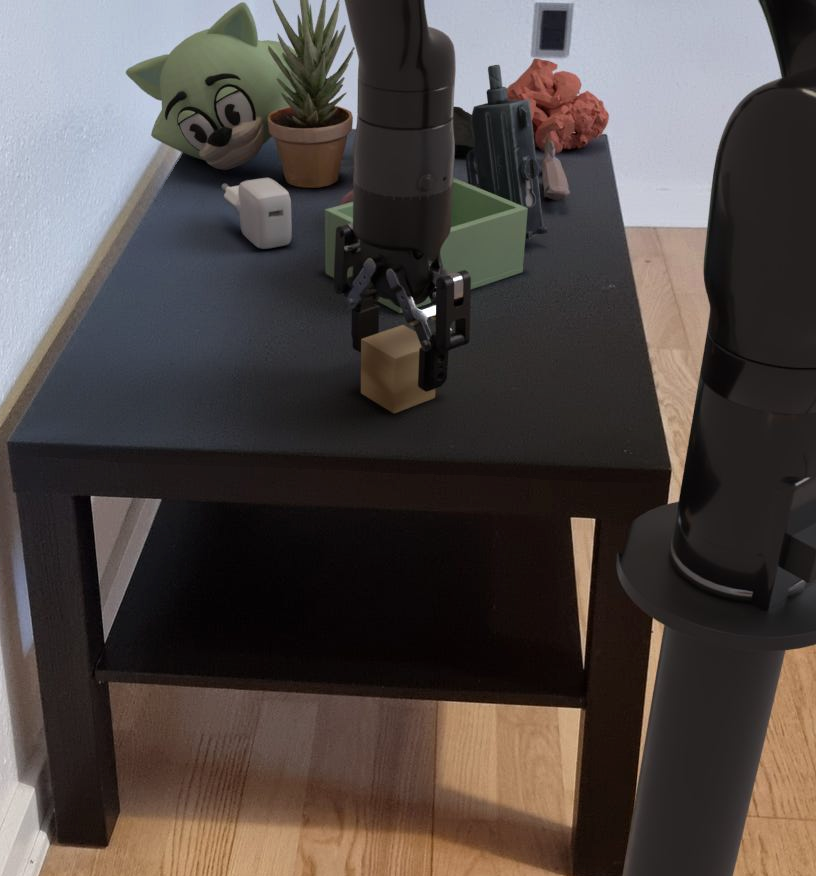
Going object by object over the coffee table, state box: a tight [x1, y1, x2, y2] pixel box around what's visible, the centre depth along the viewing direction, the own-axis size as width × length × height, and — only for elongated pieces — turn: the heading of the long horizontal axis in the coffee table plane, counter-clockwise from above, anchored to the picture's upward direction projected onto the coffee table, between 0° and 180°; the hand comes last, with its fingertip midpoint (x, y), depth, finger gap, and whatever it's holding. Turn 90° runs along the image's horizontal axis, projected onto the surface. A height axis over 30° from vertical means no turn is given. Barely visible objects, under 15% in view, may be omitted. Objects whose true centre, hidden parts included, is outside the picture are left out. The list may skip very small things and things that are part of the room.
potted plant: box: [268, 0, 356, 189], centre depth 147 cm, size 10×10×25 cm
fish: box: [541, 132, 571, 201], centre depth 149 cm, size 3×14×5 cm, turn 179°
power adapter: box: [221, 177, 293, 250], centre depth 139 cm, size 11×5×6 cm, turn 25°
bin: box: [324, 177, 528, 314], centre depth 130 cm, size 12×16×7 cm
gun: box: [465, 64, 549, 240], centre depth 138 cm, size 3×17×15 cm
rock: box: [453, 106, 474, 156], centre depth 161 cm, size 9×7×5 cm
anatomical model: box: [506, 58, 610, 156], centre depth 159 cm, size 10×12×15 cm
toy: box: [125, 1, 298, 171], centre depth 154 cm, size 20×19×15 cm
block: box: [360, 324, 436, 414], centre depth 109 cm, size 4×4×5 cm
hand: (397, 367), depth 109 cm, fingers open, 8 cm apart
